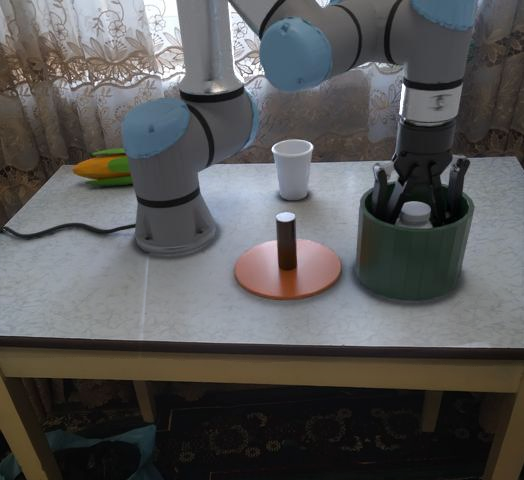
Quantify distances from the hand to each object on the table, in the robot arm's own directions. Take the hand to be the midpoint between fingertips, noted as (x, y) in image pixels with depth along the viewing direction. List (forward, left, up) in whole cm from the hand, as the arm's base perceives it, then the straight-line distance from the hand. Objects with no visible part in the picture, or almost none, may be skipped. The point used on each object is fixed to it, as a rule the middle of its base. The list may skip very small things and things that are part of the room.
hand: (407, 264), depth 86 cm
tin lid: (-19, +5, -1) cm, 20 cm away
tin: (0, 0, -2) cm, 2 cm away
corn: (-52, +51, -2) cm, 72 cm away
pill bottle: (0, 0, -2) cm, 2 cm away
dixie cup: (-13, +34, -2) cm, 37 cm away
